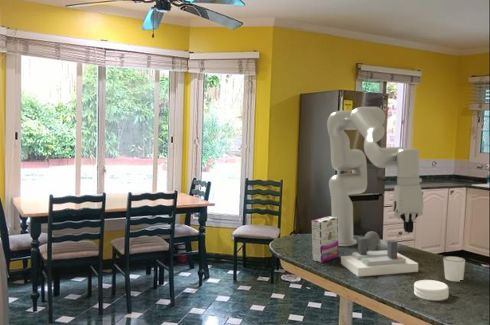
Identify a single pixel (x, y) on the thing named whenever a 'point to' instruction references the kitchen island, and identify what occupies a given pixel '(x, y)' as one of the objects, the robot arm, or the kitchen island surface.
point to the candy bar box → (325, 239)
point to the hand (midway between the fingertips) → (408, 231)
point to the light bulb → (372, 240)
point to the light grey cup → (454, 268)
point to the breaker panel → (378, 268)
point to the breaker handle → (392, 248)
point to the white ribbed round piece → (431, 290)
